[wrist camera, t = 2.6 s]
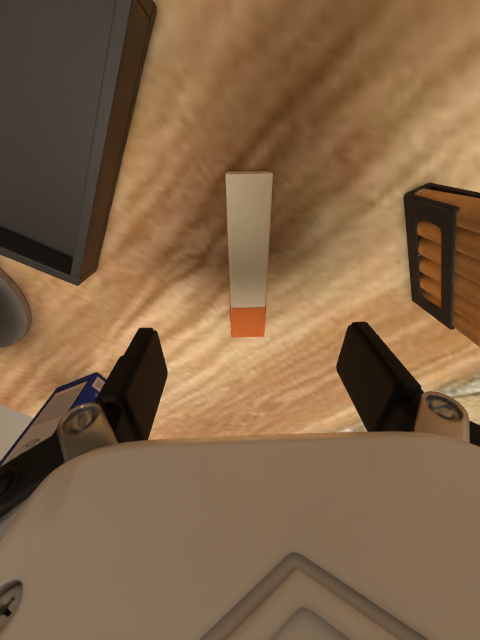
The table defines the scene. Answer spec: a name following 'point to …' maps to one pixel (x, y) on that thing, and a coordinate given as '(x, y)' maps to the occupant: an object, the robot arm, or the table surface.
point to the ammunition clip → (445, 255)
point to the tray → (65, 124)
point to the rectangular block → (248, 248)
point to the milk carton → (55, 413)
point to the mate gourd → (12, 312)
